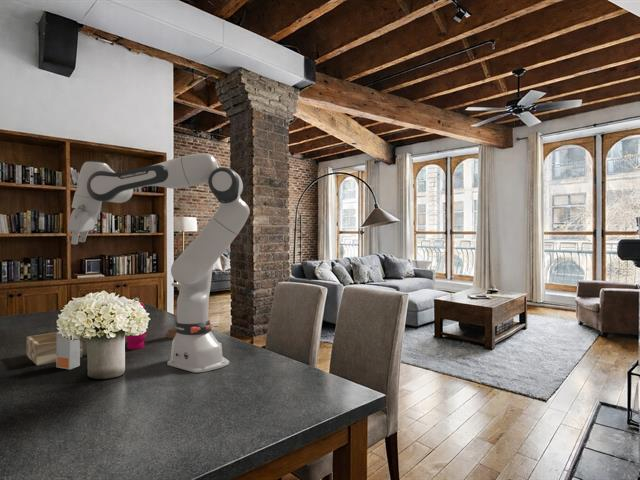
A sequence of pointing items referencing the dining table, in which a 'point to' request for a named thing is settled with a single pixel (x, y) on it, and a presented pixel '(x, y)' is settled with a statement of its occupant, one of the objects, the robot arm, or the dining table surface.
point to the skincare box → (67, 352)
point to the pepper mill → (136, 338)
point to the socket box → (43, 348)
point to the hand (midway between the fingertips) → (78, 243)
